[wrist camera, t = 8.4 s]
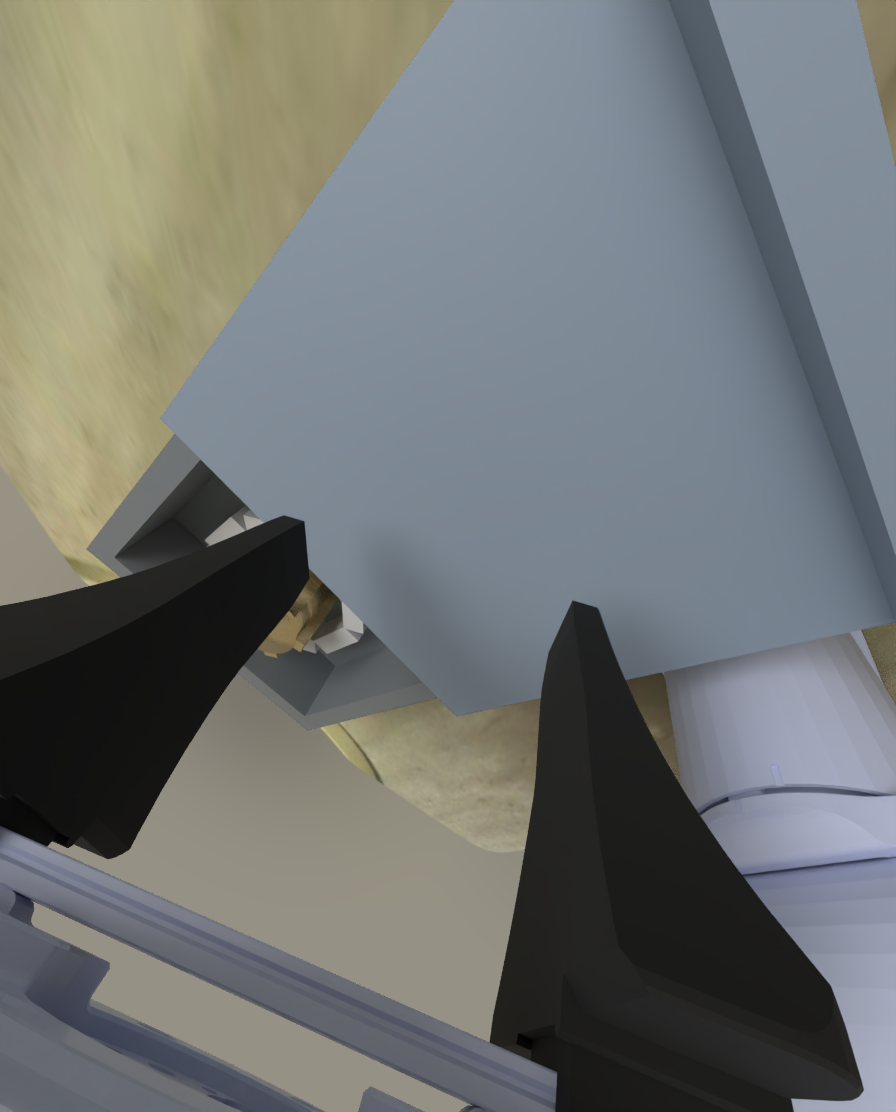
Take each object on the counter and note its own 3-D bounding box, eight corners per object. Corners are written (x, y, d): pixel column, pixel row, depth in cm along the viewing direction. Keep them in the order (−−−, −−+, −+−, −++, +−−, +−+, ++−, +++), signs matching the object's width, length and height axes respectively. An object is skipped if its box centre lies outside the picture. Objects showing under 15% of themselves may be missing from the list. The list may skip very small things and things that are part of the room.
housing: (529, 604, 22) (516, 677, 19) (341, 671, 31) (307, 730, 27) (314, 328, 17) (235, 354, 13) (159, 503, 26) (86, 549, 22)
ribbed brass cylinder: (345, 615, 26) (310, 667, 23) (274, 601, 27) (232, 649, 24) (327, 544, 23) (284, 593, 20) (247, 532, 24) (195, 576, 21)
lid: (939, 588, 11) (1012, 665, 9) (460, 701, 20) (445, 752, 18) (681, -274, 6) (726, -550, 4) (178, 410, 15) (112, 438, 13)
